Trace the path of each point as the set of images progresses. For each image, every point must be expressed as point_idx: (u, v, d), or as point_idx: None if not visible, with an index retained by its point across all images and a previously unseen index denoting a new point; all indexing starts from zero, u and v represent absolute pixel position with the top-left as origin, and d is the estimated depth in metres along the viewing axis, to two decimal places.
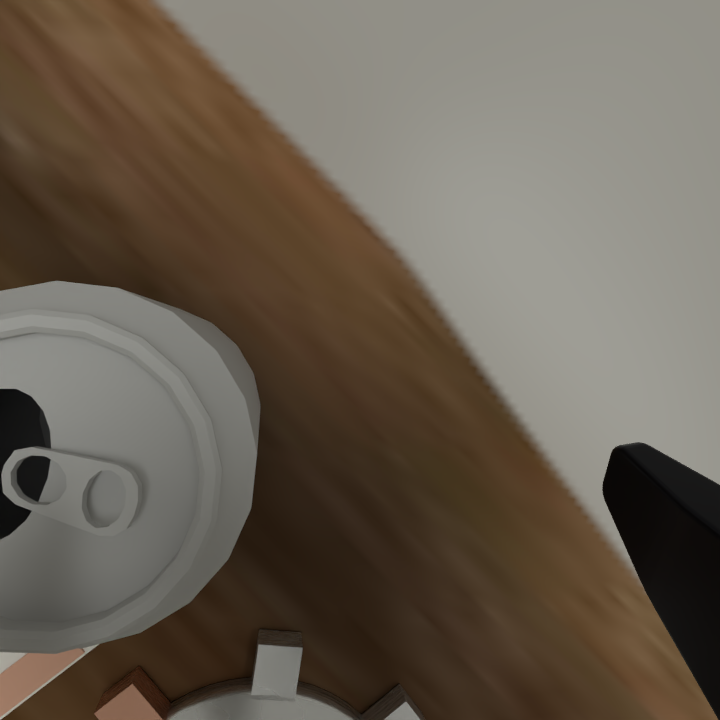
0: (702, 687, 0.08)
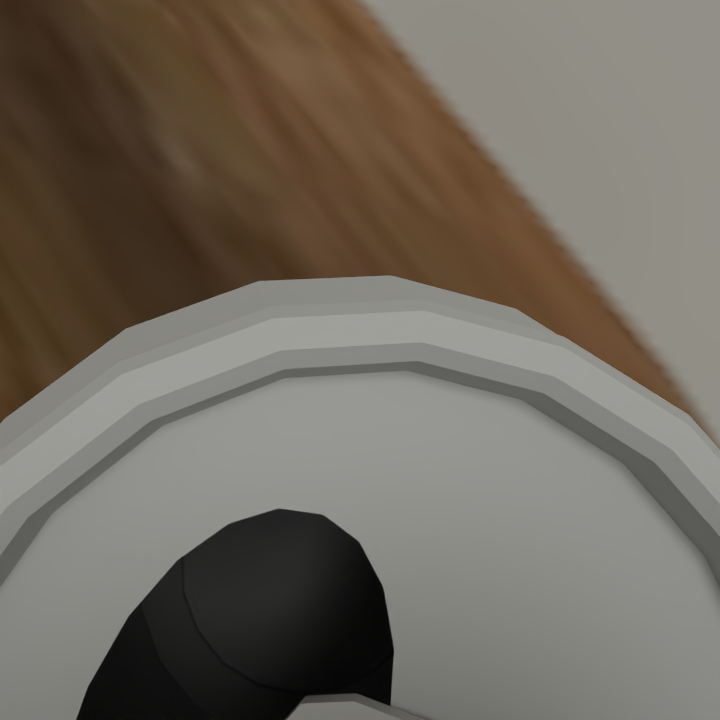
0: None
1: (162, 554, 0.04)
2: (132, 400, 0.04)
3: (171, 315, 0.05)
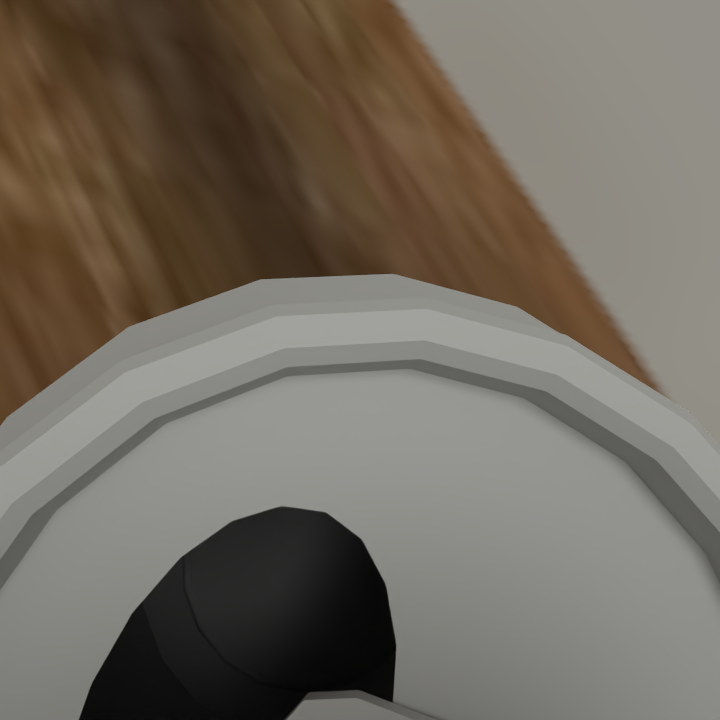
0: None
1: (164, 550, 0.04)
2: (136, 398, 0.04)
3: (174, 313, 0.05)
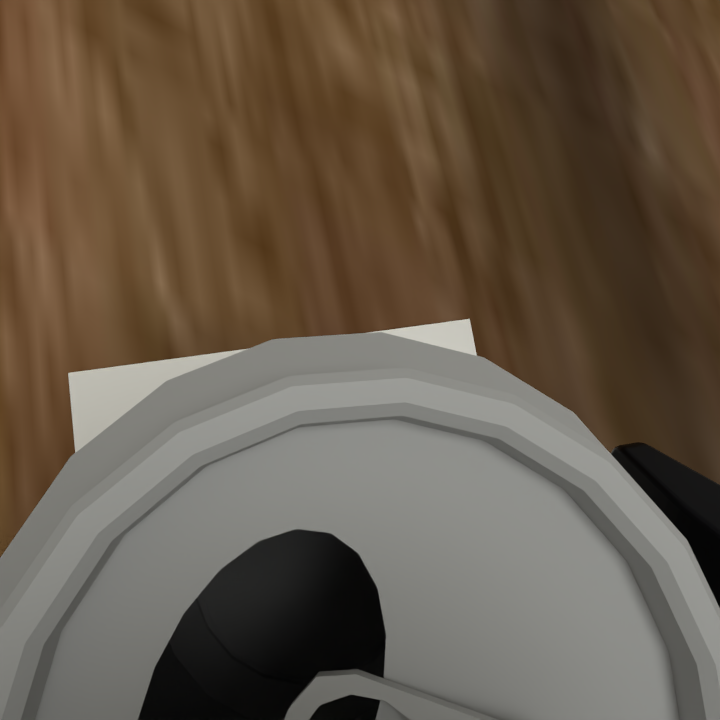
0: None
1: (208, 564, 0.05)
2: (188, 451, 0.05)
3: (203, 368, 0.06)
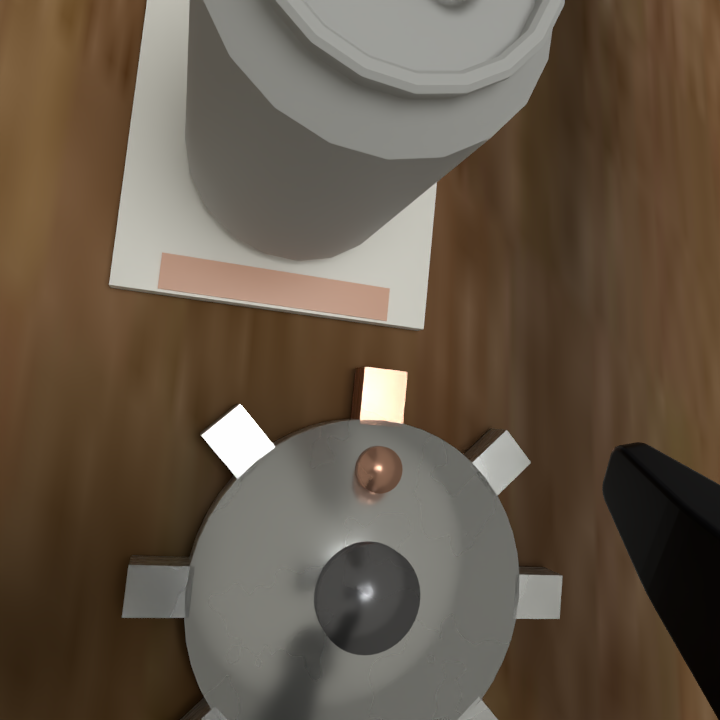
0: (702, 688, 0.08)
1: None
2: None
3: None
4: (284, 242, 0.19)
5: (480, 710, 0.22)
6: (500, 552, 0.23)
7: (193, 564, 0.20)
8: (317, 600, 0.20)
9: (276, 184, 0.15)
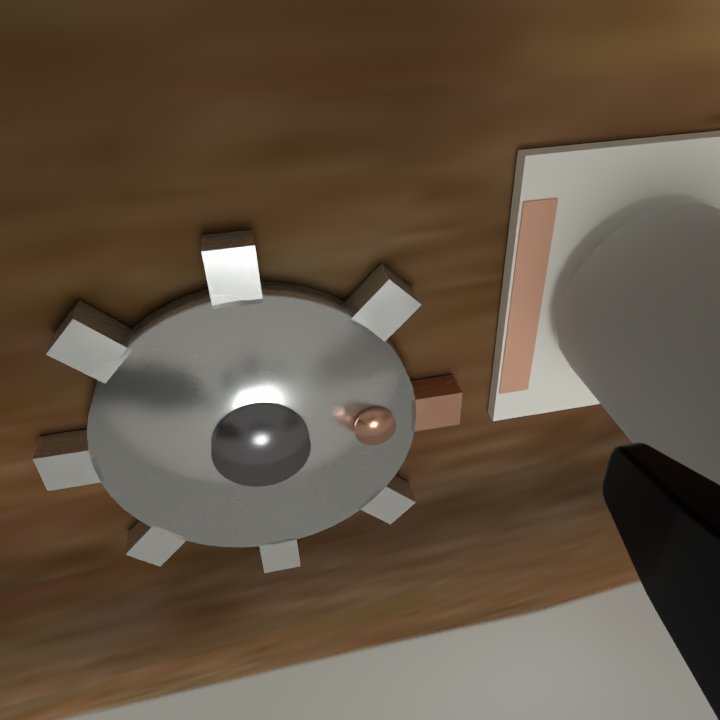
0: (701, 688, 0.08)
1: None
2: None
3: None
4: (587, 332, 0.20)
5: (176, 542, 0.25)
6: (312, 523, 0.26)
7: (264, 301, 0.20)
8: (254, 412, 0.22)
9: (679, 387, 0.17)
